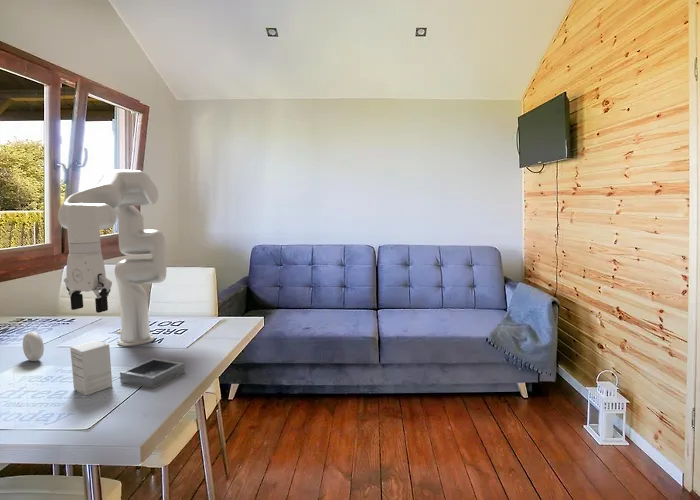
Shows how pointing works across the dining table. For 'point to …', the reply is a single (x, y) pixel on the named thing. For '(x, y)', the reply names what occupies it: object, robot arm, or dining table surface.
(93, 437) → the dining table surface
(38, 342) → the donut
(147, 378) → the locating frame
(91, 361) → the supplement box
